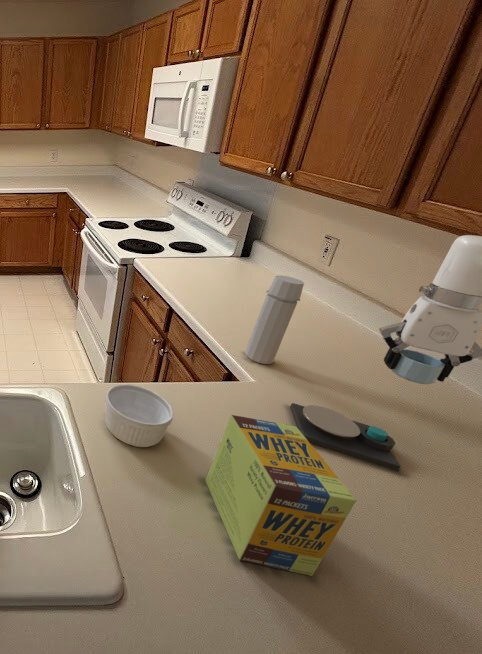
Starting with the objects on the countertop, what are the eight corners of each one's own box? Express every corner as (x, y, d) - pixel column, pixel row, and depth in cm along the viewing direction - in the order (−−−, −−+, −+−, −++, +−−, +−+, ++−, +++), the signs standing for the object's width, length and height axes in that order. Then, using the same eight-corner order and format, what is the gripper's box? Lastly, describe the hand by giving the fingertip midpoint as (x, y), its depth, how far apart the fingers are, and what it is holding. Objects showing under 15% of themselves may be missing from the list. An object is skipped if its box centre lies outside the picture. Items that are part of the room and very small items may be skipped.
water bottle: (274, 369, 115) (308, 287, 106) (242, 359, 119) (272, 279, 109) (273, 355, 122) (304, 277, 113) (242, 346, 126) (271, 270, 117)
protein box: (239, 562, 61) (275, 486, 56) (203, 480, 76) (229, 412, 70) (314, 578, 60) (360, 501, 54) (264, 491, 74) (296, 423, 69)
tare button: (381, 435, 88) (385, 429, 87) (387, 443, 85) (390, 438, 85) (364, 429, 89) (367, 424, 88) (369, 438, 86) (372, 432, 86)
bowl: (424, 373, 91) (435, 355, 89) (440, 389, 85) (451, 371, 83) (383, 363, 93) (392, 345, 92) (395, 378, 87) (405, 360, 86)
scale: (376, 433, 92) (382, 422, 91) (400, 472, 82) (407, 461, 80) (289, 407, 99) (294, 397, 98) (301, 440, 88) (306, 429, 87)
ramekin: (111, 401, 96) (117, 376, 93) (170, 426, 89) (179, 400, 86) (91, 432, 85) (97, 405, 83) (157, 463, 79) (166, 435, 76)
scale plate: (351, 416, 92) (351, 415, 92) (366, 444, 84) (367, 443, 84) (298, 401, 96) (298, 399, 96) (307, 426, 88) (308, 425, 88)
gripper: (404, 292, 82) (367, 367, 89) (528, 315, 75) (477, 395, 82) (390, 281, 89) (356, 352, 95) (503, 302, 82) (458, 376, 88)
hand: (412, 371), depth 89 cm, fingers closed on bowl, 7 cm apart
